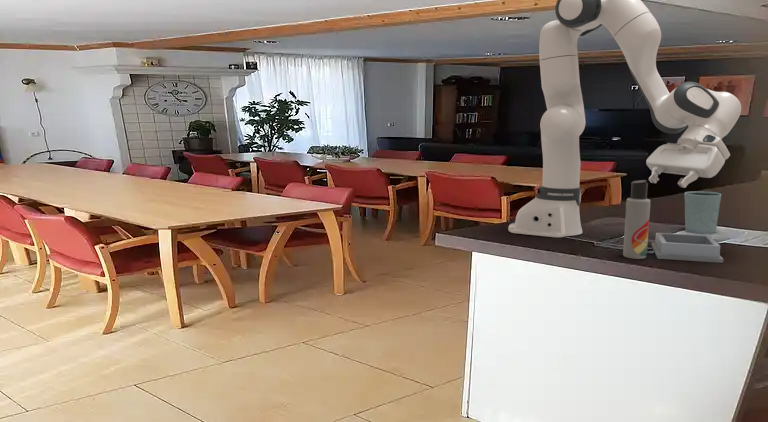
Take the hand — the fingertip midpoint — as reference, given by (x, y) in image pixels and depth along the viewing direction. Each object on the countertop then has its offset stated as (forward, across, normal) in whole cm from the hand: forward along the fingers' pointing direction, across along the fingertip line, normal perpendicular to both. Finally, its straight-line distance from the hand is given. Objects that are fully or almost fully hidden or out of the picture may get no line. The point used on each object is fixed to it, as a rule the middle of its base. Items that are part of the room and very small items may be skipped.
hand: (665, 183), depth 158 cm
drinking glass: (-11, -17, +38) cm, 43 cm away
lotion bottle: (+20, 0, +7) cm, 21 cm away
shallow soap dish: (+9, +3, +17) cm, 20 cm away
